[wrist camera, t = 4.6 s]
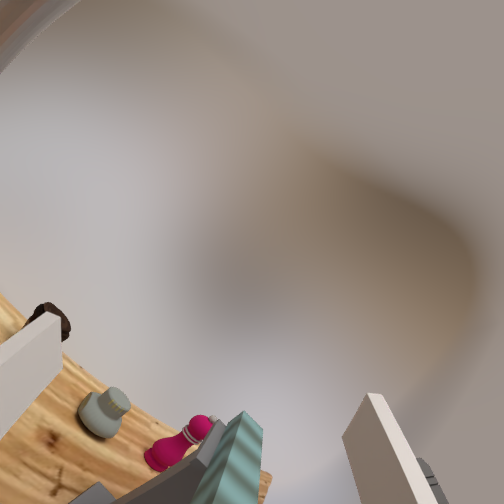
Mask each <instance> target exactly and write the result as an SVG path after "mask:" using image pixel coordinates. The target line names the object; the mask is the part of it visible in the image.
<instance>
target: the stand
mask: <svg viewBox="0 0 504 504" xmlns="http://www.w3.org/2000/svg"><path fill="white" fill-rule="evenodd" d="M225 429H226V426H225V425H224V424H223V423H222V422H221V421H220V419H218V420H217V421H216V422H214V423H213V425H212V427H211V428H210V430H209V431H208V433H207V435H206V436H205V438H204V439H203V441H202V443H201V444H200V446H199V447H198V449H197V450H195V451H194V452H193V453H191V454H190V455H188V456H187V457H185V458H184V459H182V460H181V461H179V462H178V463H176V464H175V465H173V466H172V467H170V468H169V469H167V470H166V471H164V472H162V473H161V474H159V475H158V476H156V477H154V478H153V479H151V480H150V481H148V482H146V483H145V484H143V485H141V486H140V487H138V488H136V489H135V490H133V491H131V492H129V493H128V494H126V495H124V496H122V497H121V498H119V499H117V500H116V499H115V498H114V497H113V496H112V495H111V494H110V492H109V491H108V490H107V489H106V488H105V487H104V486H103V485H102V484H101V483H100V482H97V483H96V484H94V485H92V486H91V487H90V488H88V489H87V490H86V491H85V492H83V493H82V494H80V495H79V496H78V497H76V498H75V499H74V500H72V501H71V502H70V503H68V504H190V502H191V500H192V498H193V496H194V494H195V492H196V490H197V488H198V486H199V484H200V482H201V480H202V478H203V476H204V473H205V471H206V469H207V467H208V465H209V463H210V461H211V459H212V457H213V455H214V452H215V450H216V448H217V446H218V444H219V442H220V440H221V437H222V435H223V433H224V431H225Z"/></svg>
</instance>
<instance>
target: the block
mask: <svg viewBox="0 0 504 504" xmlns="http://www.w3.org/2000/svg"><path fill="white" fill-rule="evenodd" d="M262 436H263V429H262V428H261V427H260V426H259V425H258V424H257V423H256V422H255V421H254V420H253V419H252V418H251V417H250V416H249V415H248V414H247V413H246V412H245V411H243V412H241V413H240V414H239V415H238V416H236V417H235V418H234V419H232V420H231V421H230V422H228V424H227V427H226V429H225V431H224V433H223V435H222V437H221V440H220V442H219V444H218V446H217V448H216V450H215V452H214V455H213V457H212V459H211V461H210V463H209V465H208V467H207V469H206V471H205V473H204V476H203V478H202V480H201V482H200V484H199V486H198V488H197V490H196V492H195V494H194V496H193V498H192V500H191V502H190V504H258V492H259V479H260V466H261V453H262V438H263V437H262Z"/></svg>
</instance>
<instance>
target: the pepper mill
mask: <svg viewBox="0 0 504 504" xmlns="http://www.w3.org/2000/svg"><path fill="white" fill-rule="evenodd" d="M216 421H217V418H216V416H213V415H212V416H210V417H209V418H208V417H206V416H204V415H197V416H194V417H193V418H192V419H191V420H190V422H189V425H186V426H185V427H183V429H182V431H181V432H180V433H179V434H177V435H176V436H173V437H168V438H162V439H159V440H158V441H156V442H155V443H154V444H153V447H152V448H150V449H148V450H147V451H145V453H144V457H145V460H146V462H147V463H148V464H149V466H150V467H151V468H153V469H154V470H156V471H159V472H162V471H164V470H166V469H167V468H168V466H171V467H172V466H173V465H175V464H176V463H178V462H179V461H181V460H182V458H183V456H184V454H185V452H186V451H187V449H188V448H190V447H191V446H192V445H194V444H195V445H198V444H199V443H200V442H202V440H203V439H204V438H205V436H206V435H207V433H208V431H209V430H210V428H211V427H212V425H213V423H214V422H216Z"/></svg>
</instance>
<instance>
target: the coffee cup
mask: <svg viewBox="0 0 504 504" xmlns="http://www.w3.org/2000/svg"><path fill="white" fill-rule="evenodd" d="M47 311H48V312H50V313H52V314H55V315H57V316H59V317H61V342H63V341H64V340H66V339H67V338H68V337H69V332H70V331H71V326H70V322H69V321H68V319H67V317H66V316H65V315H64V314H63V313H62V311H61V310H59V309H58V308H57V307H56V306H55V305H54V304H52V303H50V302H47V303H45V304H40V305H39V306H37V307H36V309H35V310H34V314H33V315H32V316H31V317H30V318H29V319H28V320H27V322H26V323H25V325H24V326H23V327H22V329H23V328H24V327H26V326H27V325H28V324H30V323H31V322H33V321H34V320H35V319H37V318H38V317H40V316H41V315H42V314H44V313H45V312H47ZM22 329H21V330H22Z"/></svg>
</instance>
